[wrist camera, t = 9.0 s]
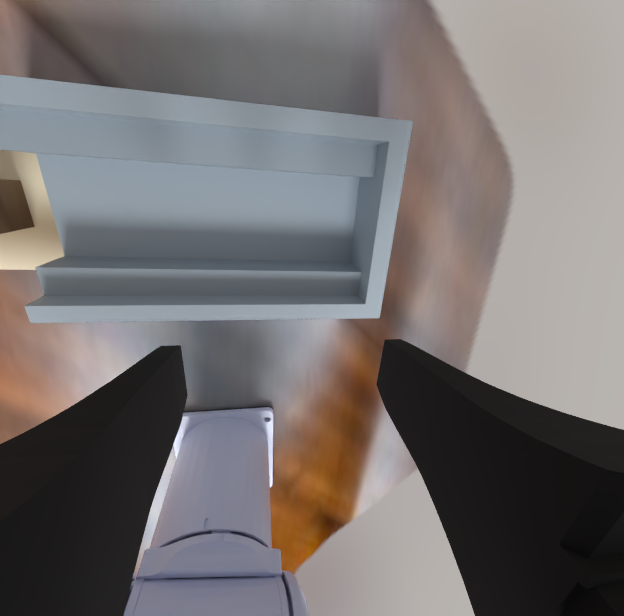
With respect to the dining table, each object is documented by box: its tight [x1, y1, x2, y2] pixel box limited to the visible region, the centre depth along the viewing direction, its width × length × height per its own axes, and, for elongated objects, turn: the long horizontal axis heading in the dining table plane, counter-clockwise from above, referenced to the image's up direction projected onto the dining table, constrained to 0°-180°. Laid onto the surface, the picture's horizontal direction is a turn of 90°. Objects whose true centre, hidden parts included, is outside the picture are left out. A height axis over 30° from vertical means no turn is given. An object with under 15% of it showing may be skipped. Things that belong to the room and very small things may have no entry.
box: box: [0, 75, 413, 323], centre depth 16 cm, size 10×18×4 cm, turn 86°
